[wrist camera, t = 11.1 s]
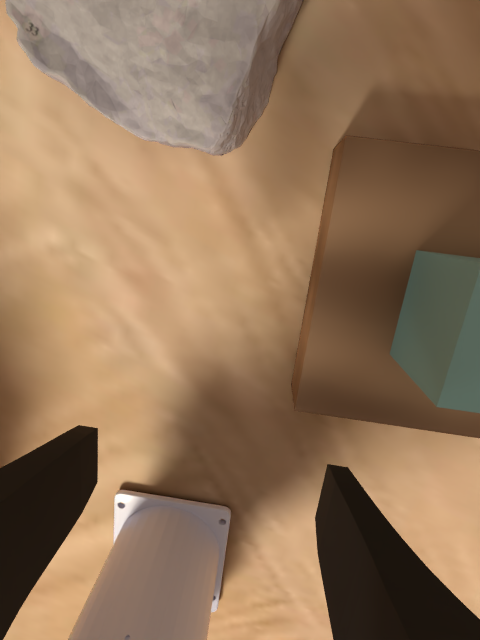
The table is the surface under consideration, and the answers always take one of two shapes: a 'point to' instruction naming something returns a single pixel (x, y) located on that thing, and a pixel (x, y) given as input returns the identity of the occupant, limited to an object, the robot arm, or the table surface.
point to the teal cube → (442, 329)
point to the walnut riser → (381, 277)
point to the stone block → (162, 62)
